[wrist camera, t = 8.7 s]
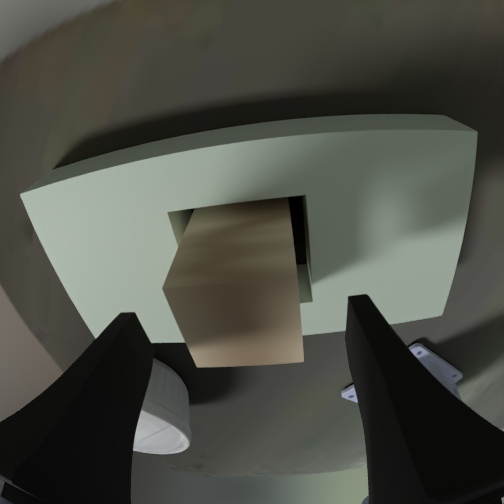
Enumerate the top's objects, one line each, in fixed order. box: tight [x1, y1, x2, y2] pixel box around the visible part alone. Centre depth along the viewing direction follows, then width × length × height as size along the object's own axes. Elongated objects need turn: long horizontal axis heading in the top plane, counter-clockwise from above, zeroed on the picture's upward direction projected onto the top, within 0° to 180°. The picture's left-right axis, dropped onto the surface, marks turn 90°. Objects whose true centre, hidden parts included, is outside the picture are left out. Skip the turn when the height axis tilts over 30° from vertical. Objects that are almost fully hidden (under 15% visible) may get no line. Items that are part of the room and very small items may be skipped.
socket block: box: [20, 114, 478, 343], centre depth 15 cm, size 20×10×3 cm, turn 99°
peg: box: [162, 197, 304, 367], centre depth 13 cm, size 4×4×7 cm
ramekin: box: [133, 358, 192, 454], centre depth 23 cm, size 11×11×5 cm
